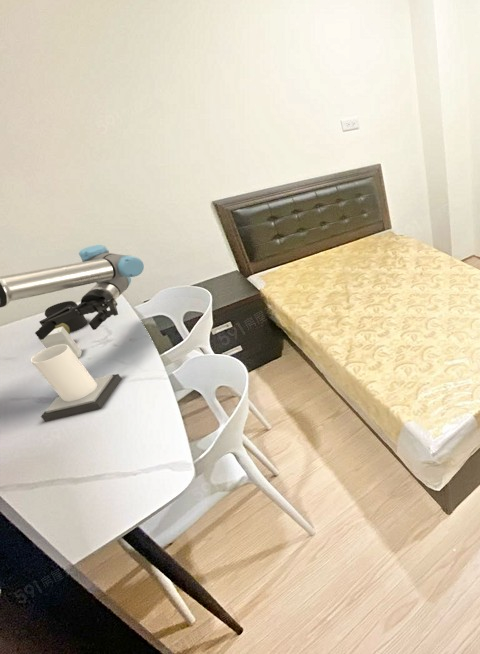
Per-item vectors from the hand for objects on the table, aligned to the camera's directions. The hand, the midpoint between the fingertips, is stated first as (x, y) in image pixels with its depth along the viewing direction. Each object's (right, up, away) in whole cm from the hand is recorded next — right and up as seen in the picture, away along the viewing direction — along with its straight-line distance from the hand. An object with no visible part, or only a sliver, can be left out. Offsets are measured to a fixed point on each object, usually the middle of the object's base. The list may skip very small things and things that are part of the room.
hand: (65, 331), depth 125 cm
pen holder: (-38, -4, +38) cm, 54 cm away
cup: (+4, -20, +1) cm, 20 cm away
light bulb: (-29, -9, +28) cm, 41 cm away
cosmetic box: (-21, -13, +21) cm, 32 cm away
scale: (+4, -22, +2) cm, 23 cm away
